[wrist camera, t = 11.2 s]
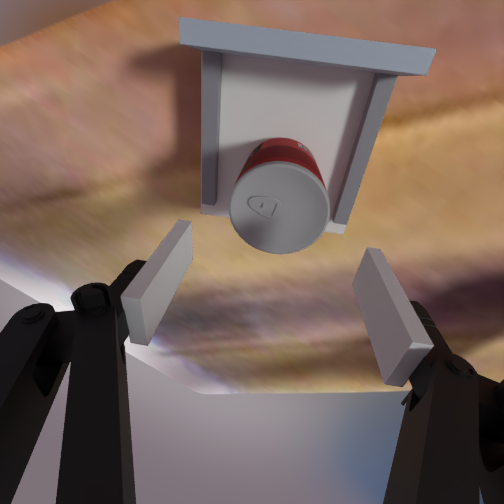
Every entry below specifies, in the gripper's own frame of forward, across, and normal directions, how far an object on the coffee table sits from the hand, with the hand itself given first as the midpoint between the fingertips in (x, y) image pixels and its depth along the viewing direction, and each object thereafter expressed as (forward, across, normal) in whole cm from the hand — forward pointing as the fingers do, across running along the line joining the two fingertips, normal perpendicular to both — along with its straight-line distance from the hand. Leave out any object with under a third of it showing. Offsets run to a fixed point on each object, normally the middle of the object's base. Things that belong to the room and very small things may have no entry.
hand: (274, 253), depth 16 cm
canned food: (+17, 0, 0) cm, 17 cm away
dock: (+20, 0, -2) cm, 20 cm away
